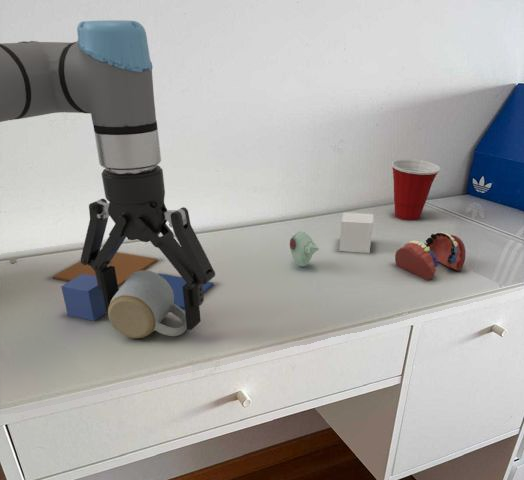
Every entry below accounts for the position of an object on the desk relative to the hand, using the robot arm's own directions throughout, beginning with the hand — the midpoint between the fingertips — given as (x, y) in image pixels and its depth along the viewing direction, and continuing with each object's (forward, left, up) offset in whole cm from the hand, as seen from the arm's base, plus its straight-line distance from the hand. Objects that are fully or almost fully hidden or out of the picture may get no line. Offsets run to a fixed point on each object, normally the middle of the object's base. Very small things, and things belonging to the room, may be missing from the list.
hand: (152, 317), depth 76 cm
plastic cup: (+27, +68, -2) cm, 73 cm away
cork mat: (-20, +16, -2) cm, 26 cm away
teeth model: (+35, +38, -2) cm, 52 cm away
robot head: (+13, +30, -2) cm, 33 cm away
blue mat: (-4, +12, -2) cm, 13 cm away
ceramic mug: (0, 0, -2) cm, 2 cm away
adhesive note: (+20, +44, -2) cm, 48 cm away
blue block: (-12, +1, -2) cm, 12 cm away
